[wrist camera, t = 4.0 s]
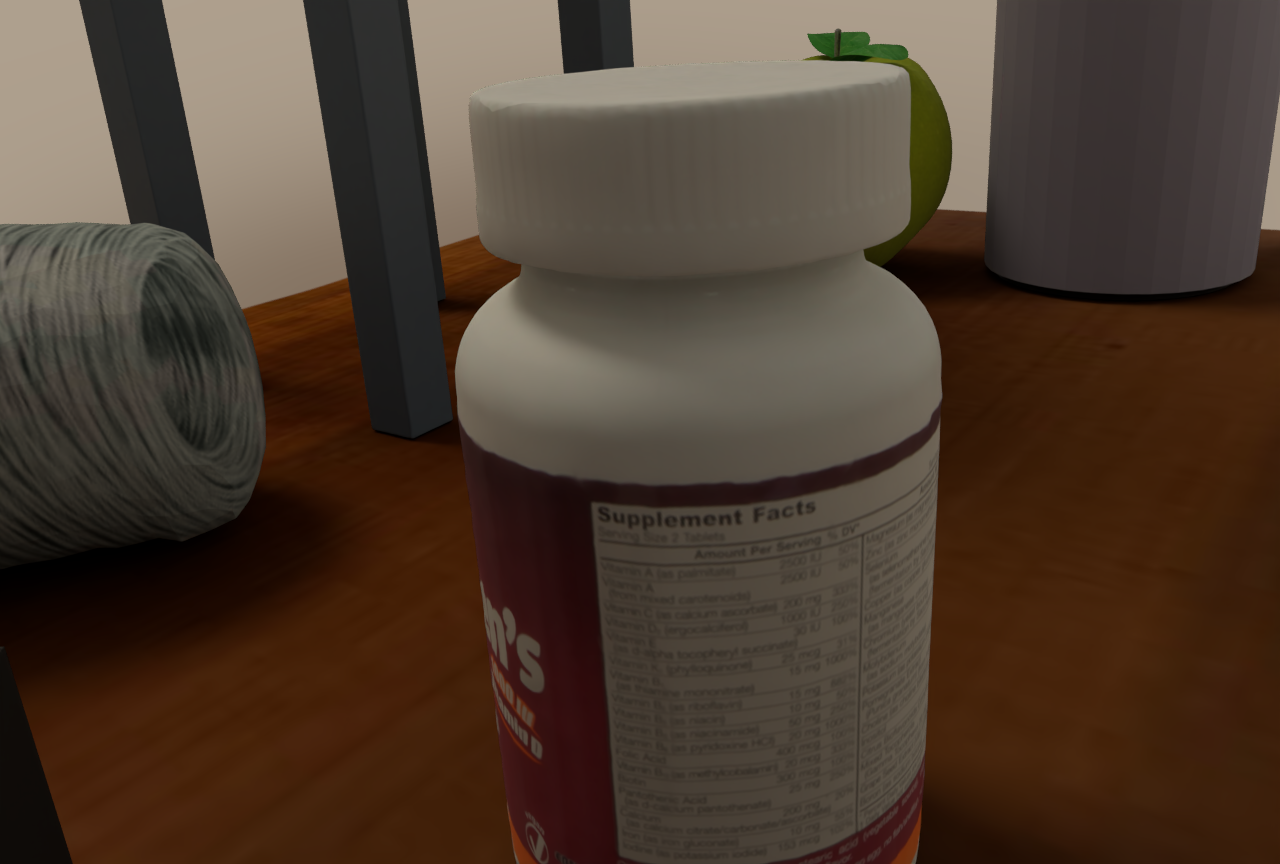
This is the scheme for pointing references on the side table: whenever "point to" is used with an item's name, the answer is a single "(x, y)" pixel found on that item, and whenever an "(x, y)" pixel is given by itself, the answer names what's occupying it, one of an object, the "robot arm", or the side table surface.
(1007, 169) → the container
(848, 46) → the fruit
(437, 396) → the grey four-legged stand
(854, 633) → the pill bottle
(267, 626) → the side table surface
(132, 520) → the spool
